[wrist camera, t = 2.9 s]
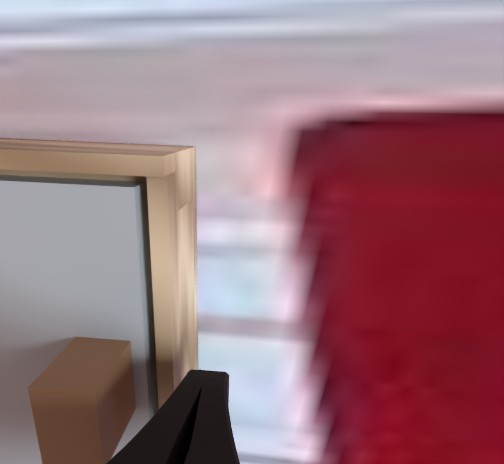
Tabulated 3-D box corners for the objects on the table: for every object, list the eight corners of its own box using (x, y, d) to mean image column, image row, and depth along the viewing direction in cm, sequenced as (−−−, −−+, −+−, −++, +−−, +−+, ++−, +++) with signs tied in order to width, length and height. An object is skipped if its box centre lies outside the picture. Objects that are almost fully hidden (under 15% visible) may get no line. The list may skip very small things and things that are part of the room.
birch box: (198, 448, 19) (177, 538, 15) (-46, 425, 20) (-131, 505, 15) (195, 146, 14) (161, 156, 10) (-129, 132, 15) (-285, 135, 11)
